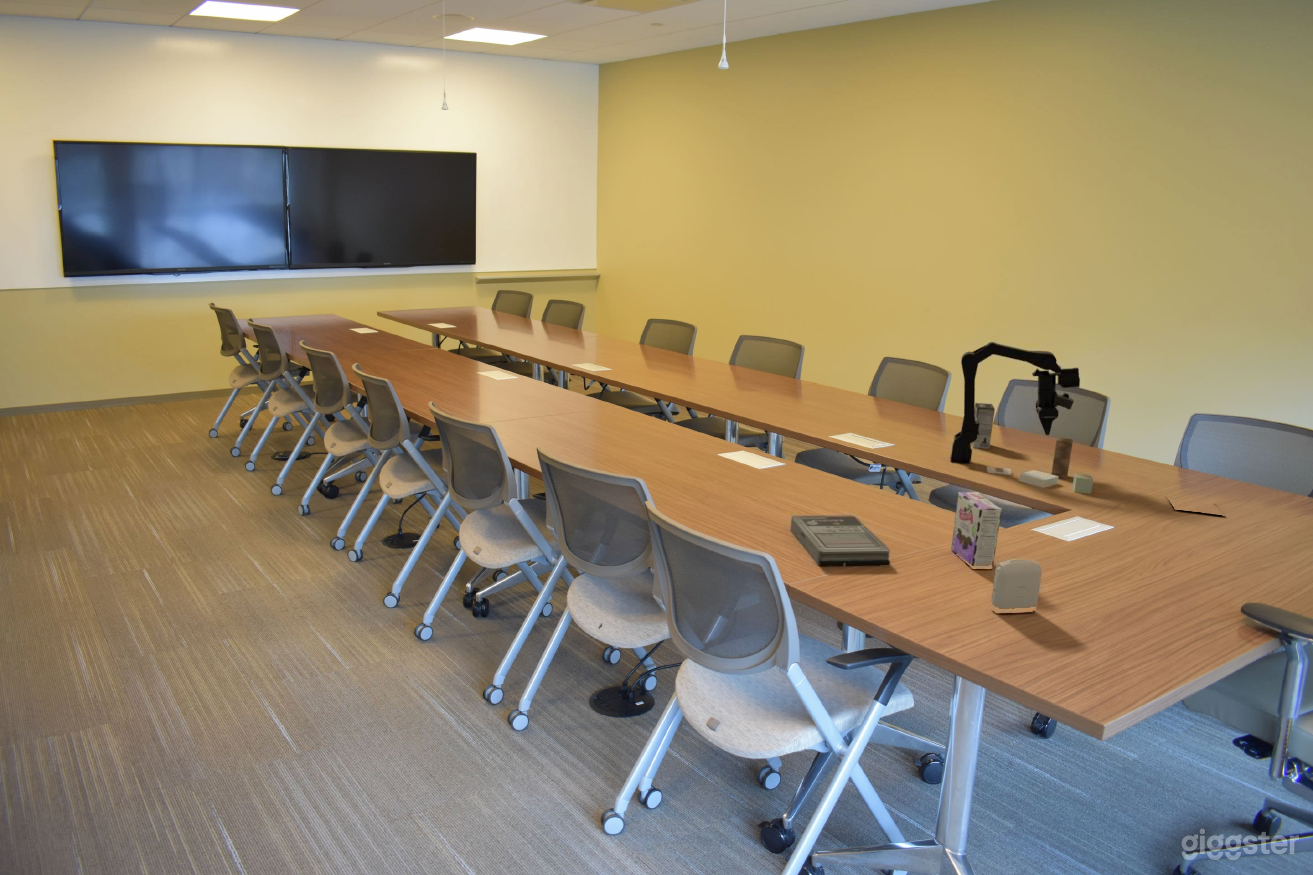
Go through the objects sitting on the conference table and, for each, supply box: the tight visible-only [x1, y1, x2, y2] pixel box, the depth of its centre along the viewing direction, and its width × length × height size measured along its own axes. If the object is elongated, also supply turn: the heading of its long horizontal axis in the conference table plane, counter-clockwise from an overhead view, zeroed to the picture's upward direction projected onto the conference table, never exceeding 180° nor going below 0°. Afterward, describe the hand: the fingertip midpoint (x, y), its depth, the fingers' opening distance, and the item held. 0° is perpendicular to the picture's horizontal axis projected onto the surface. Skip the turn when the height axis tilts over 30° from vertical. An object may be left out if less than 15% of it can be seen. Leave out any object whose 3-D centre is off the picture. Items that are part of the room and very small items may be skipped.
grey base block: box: [1018, 469, 1060, 489], centre depth 310 cm, size 9×9×3 cm
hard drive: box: [790, 514, 891, 568], centre depth 243 cm, size 18×27×4 cm
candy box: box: [950, 491, 1003, 566], centre depth 236 cm, size 14×6×16 cm, turn 5°
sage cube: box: [1071, 473, 1094, 495], centre depth 302 cm, size 5×5×5 cm
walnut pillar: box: [1050, 437, 1074, 480], centre depth 318 cm, size 5×5×13 cm
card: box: [986, 466, 1013, 476], centre depth 322 cm, size 8×6×1 cm
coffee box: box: [971, 402, 996, 450], centre depth 356 cm, size 9×6×16 cm
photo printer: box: [990, 558, 1042, 609], centre depth 206 cm, size 10×4×12 cm, turn 100°
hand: (1046, 432), depth 322 cm, fingers open, 9 cm apart
